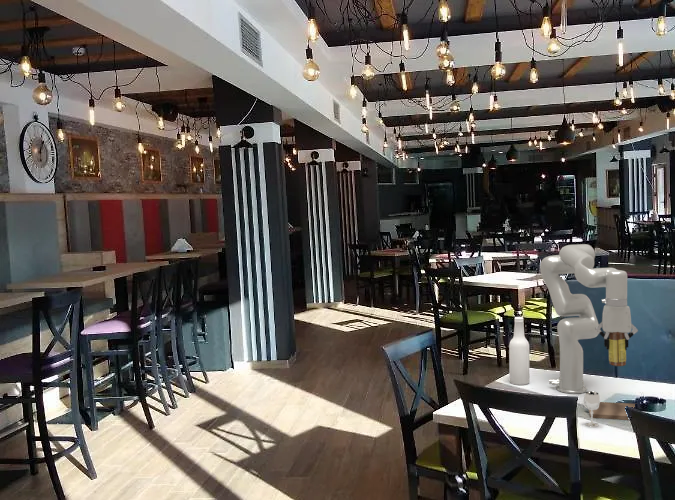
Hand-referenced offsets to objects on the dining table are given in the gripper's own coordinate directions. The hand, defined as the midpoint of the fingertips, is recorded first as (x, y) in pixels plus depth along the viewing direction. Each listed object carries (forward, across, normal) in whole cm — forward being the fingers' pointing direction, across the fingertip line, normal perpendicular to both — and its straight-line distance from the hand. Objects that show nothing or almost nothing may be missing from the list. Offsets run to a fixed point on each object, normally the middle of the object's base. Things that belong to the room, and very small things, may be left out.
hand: (616, 348), depth 256 cm
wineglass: (+26, -10, -16) cm, 32 cm away
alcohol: (+26, -37, +35) cm, 57 cm away
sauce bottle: (+7, 0, 0) cm, 7 cm away
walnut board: (+25, 0, 0) cm, 25 cm away
